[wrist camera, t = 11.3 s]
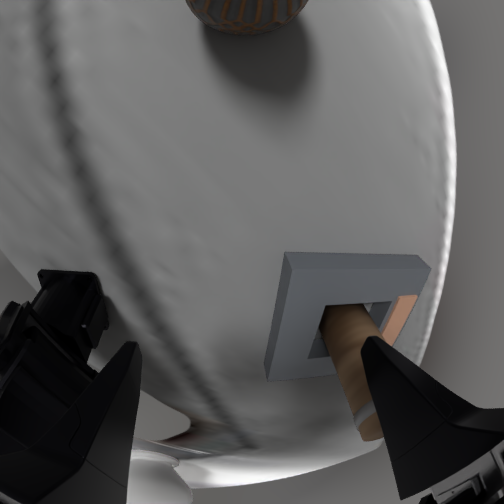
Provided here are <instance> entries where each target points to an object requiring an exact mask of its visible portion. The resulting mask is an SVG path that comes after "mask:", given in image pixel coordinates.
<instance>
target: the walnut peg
mask: <svg viewBox="0 0 504 504" xmlns="http://www.w3.org/2000/svg"><path fill="white" fill-rule="evenodd" d="M319 330H320V332H321V334H322V337H323V339H324V342H325V344H326V347H327V349H328V352H329V354H330V357H331V359H332V362H333V364H334V367H335V369H336V372H337V374H338V377H339V379H340V382H341V384H342V387H343V389H344V392H345V395H346V397H347V400H348V402H349V405H350V408H351V410H352V413H353V416H354V417H353V419H354V422H355V425H356V427H357V430H358V431H359V432H360V434H361V437H362V440H363V441H373V440H377V439H380V438H383V437H384V435H383V432H382V429H381V425H380V422H379V419H378V416H377V412H376V409H375V406H374V403H373V400H372V397H371V394H370V391H369V388H368V384H367V380H366V376H365V371H364V367H363V363H362V358H361V353H360V352H361V348H362V346H363V344H364V342H365V340H366V338H367V337H368V336H374V335H376V336H378V337H380V338H381V339H382V340H384V341H385V339H384V338H383V336H382V334H381V333H380V331H379V329H378V328H377V326H376V324H375V323H374V321H373V319H372V318H371V316H370V315H369V313H368V311H367V310H366V308H365V307H364V305H363V303H357V304H340V305H325V308H324V311H323V315H322V318H321V321H320V324H319ZM385 342H386V341H385Z"/></svg>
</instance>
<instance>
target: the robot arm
mask: <svg viewBox="0 0 504 504" xmlns="http://www.w3.org/2000/svg"><path fill="white" fill-rule="evenodd" d="M37 275H38V278H39V281H40V284H41V287H42V288H41V290H40V291H39V292H38V294H37V296H36V297H35V298H34V300H33V301H32V303H31V304H30V302H29V301H27V302H25V303H24V304H22V305H20V304H18V303H16V302H14V301H11V302H9V303H8V305H7V306H6V308H5V309H4V310H3V312H2V313H1V315H0V504H126V503H127V488H128V477H129V467H130V459H131V450H132V443H133V435H134V429H135V422H136V415H137V409H138V404H139V397H140V383H141V369H142V355H141V351H140V348H139V344H138V343H137V342H135V341H127V342H126V343H125V344H124V345H123V346H122V347H121V348H120V349H119V351H118V352H117V353H116V354H115V355H114V356H113V357H112V359H111V360H110V361H109V362H108V363H107V364H106V366H105V367H104V368H103V369H102V370H101V371H100V373H98V372H97V371H96V370H93V369H92V368H91V367H90V366H88V365H87V361H88V358H89V355H90V353H91V350H92V349H96V348H97V346H98V343H99V340H100V338H101V335H102V332H103V330H107V329H108V328H109V322H108V314H107V311H106V307H105V304H104V300H103V297H102V295H101V294H100V291H99V287H98V283H97V279H96V276H95V275H94V274H93V273H92V272H78V271H61V270H45V269H41V270H40V271H39V272H38V274H37ZM89 277H90V278H91V279H90V278H89ZM360 353H361V358H362V363H363V367H364V371H365V376H366V380H367V384H368V388H369V391H370V394H371V397H372V400H373V403H374V406H375V409H376V412H377V416H378V419H379V422H380V425H381V429H382V432H383V435H384V439H385V442H386V446H387V449H388V453H389V456H390V460H391V464H392V468H393V472H394V475H395V480H396V484H397V488H398V492H399V496H400V500H403V499H406V498H408V497H410V496H413V495H415V494H417V493H419V492H421V491H423V490H425V489H427V488H429V487H430V490H431V492H432V493H430V494H428V495H426V496H425V497H423V498H421V500H420V502H419V504H504V408H495V409H483V408H478V407H476V406H474V405H472V404H471V403H469V402H467V401H466V400H464V399H462V398H461V397H459V396H458V395H456V394H455V393H453V392H452V391H450V390H449V389H447V388H446V387H445V386H443V385H442V384H440V383H439V382H438V381H436V380H435V379H434V378H433V377H431V376H430V375H429V374H427V373H426V372H425V371H423V370H422V369H421V368H419V367H418V366H417V365H415V364H414V363H413V362H412V361H410V360H409V359H408V358H406V357H405V356H404V355H402V354H401V353H400V352H398V351H397V350H396V349H394V348H393V347H392V346H390V345H389V344H388V343H386V342H385V341H384V340H382V339H381V338H380V337H378V336H376V335H374V336H368V337H367V338H366V340H365V342H364V344H363V346H362V348H361V352H360Z"/></svg>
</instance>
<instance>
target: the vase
mask: <svg viewBox="0 0 504 504" xmlns="http://www.w3.org/2000/svg"><path fill="white" fill-rule="evenodd" d="M307 2H308V0H186V3H187V5H188V6H189V8H190V10H191V11H192V12H193V14H194V15H195V16H196V17H197V18H198V19H199V20H201V21H202V22H203V23H205V24H206V25H208V26H210V27H212V28H214V29H216V30H218V31H221V32H225V33H229V34H235V35H255V34H261V33H265V32H269V31H272V30H275V29H277V28H279V27H281V26H283V25H285V24H286V23H288V22H289V21H291V20H292V19H293V18H294V17H295V16H297V15H298V14H299V13H300V11H301V10H302V9H303V8H304V7H305V5H306V4H307Z"/></svg>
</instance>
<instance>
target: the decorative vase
mask: <svg viewBox="0 0 504 504" xmlns="http://www.w3.org/2000/svg"><path fill="white" fill-rule="evenodd" d="M177 466H179V460H178V459H176V458H174V457H172V456H169V455H166V454H162V453H158V452H153V451H146V450H131V459H130V467H129V477H128V488H127V503H126V504H192V500H193V495H192V492H191V489H190V488H189V486H188V485H187V484H186V483H185V481H184V480H183V479H182V478H181V477H180V476H179V475H178V474H177V472H176V471H175V470H174V469H173V468H174V467H177Z"/></svg>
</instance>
